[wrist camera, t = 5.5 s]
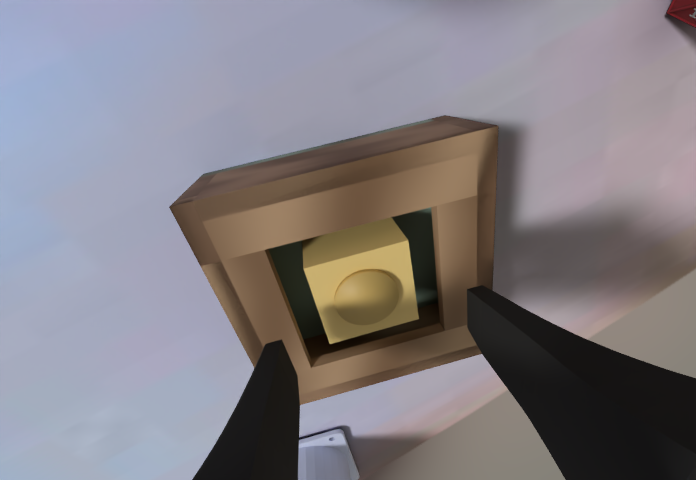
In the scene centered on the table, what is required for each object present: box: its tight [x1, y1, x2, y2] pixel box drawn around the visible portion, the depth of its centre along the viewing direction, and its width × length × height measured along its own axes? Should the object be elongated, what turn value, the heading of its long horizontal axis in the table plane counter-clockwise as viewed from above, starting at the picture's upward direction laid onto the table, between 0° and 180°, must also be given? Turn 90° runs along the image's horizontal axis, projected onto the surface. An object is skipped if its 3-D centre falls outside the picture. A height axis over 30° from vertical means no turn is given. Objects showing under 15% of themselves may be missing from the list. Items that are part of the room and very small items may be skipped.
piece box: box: [170, 116, 498, 405], centre depth 15 cm, size 12×12×4 cm
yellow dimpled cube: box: [302, 217, 419, 344], centre depth 15 cm, size 4×4×4 cm
